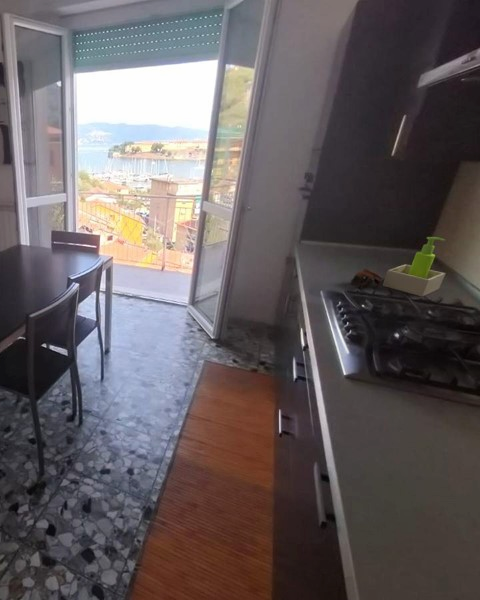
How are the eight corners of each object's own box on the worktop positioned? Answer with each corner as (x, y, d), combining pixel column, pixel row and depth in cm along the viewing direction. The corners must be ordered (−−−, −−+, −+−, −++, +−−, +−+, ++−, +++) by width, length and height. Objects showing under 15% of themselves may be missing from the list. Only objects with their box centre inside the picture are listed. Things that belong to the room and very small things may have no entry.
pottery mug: (345, 281, 158) (359, 266, 155) (365, 294, 155) (380, 278, 153) (353, 284, 147) (369, 267, 144) (375, 297, 144) (391, 281, 142)
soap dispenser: (428, 287, 147) (448, 240, 139) (407, 284, 150) (425, 238, 142) (423, 282, 152) (442, 236, 144) (403, 280, 155) (420, 235, 147)
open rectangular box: (438, 289, 148) (445, 273, 145) (422, 296, 141) (429, 280, 138) (399, 279, 159) (405, 264, 156) (382, 285, 152) (387, 270, 149)
